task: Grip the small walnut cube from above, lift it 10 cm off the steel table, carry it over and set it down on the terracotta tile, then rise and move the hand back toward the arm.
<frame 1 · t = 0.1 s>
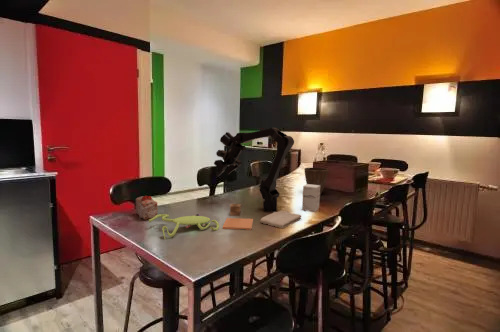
hand: (221, 175, 165), 15 cm above the table, tool tilted 35°, fingers open, 9 cm apart
supplement box: (310, 209, 153), on the table
food item: (146, 217, 137), on the table
plant pot: (315, 193, 189), on the table
walnut cube: (235, 214, 143), on the table
washcloth: (281, 222, 133), on the table
terracotta tile: (238, 224, 128), on the table
figurine: (183, 229, 122), on the table
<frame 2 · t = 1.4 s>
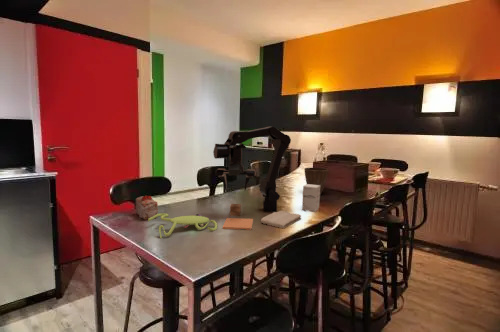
hand: (235, 190, 141), 12 cm above the table, tool pointing down, fingers open, 9 cm apart
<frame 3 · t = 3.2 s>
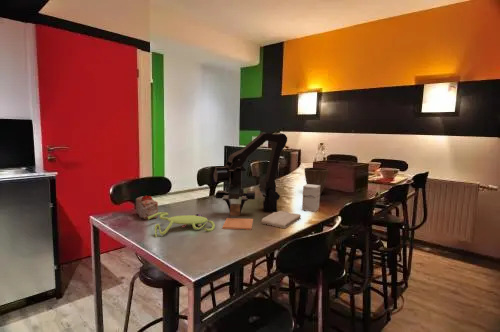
hand: (235, 212, 142), 1 cm above the table, tool pointing down, fingers closed on walnut cube, 5 cm apart
walnut cube: (235, 214, 143), on the table, touching gripper
figurine: (180, 228, 123), on the table
everything else where it was.
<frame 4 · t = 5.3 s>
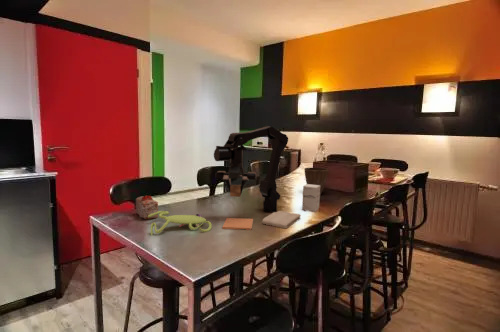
hand: (235, 193, 138), 11 cm above the table, tool pointing down, fingers closed on walnut cube, 5 cm apart
walnut cube: (235, 195, 138), point 10 cm above the table, touching gripper
figurine: (178, 228, 124), on the table
everything else where it was.
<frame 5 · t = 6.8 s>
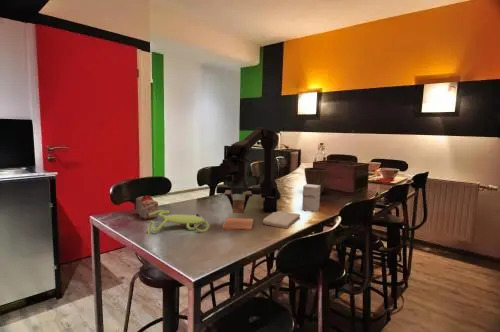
hand: (238, 209, 127), 7 cm above the table, tool pointing down, fingers closed on walnut cube, 5 cm apart
walnut cube: (238, 211, 127), point 6 cm above the table, touching gripper
figurine: (176, 227, 125), on the table
everything else where it was.
when the fingers open (3 cm above the table, at t = 7.8 s): walnut cube drops 1 cm, resting on terracotta tile.
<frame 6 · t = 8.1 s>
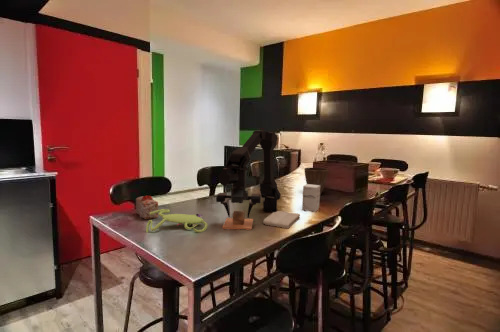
hand: (238, 217, 127), 3 cm above the table, tool pointing down, fingers open, 8 cm apart
walnut cube: (238, 222, 127), point 1 cm above the table, touching terracotta tile
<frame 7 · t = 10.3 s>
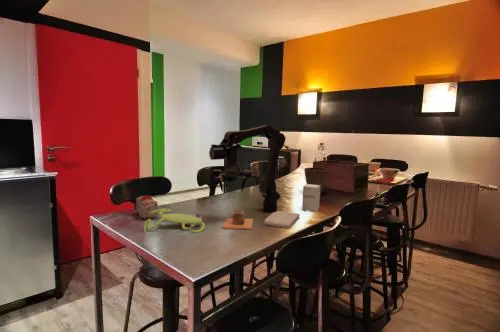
hand: (232, 191, 138), 12 cm above the table, tool pointing down, fingers open, 9 cm apart
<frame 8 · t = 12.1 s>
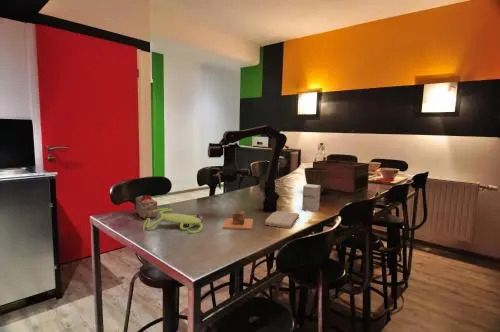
hand: (229, 189, 142), 12 cm above the table, tool pointing down, fingers open, 9 cm apart
at the end: walnut cube inside the target area on the terracotta tile (0.1 cm from its centre), point 0.8 cm above the terracotta tile's base; walnut cube tilted 0°; the gripper is holding nothing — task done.
